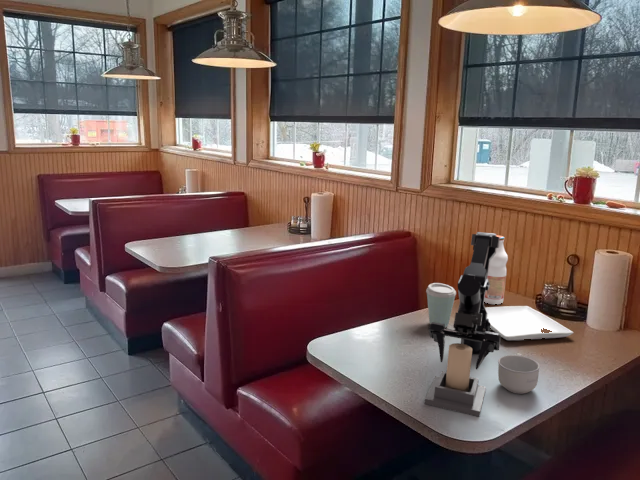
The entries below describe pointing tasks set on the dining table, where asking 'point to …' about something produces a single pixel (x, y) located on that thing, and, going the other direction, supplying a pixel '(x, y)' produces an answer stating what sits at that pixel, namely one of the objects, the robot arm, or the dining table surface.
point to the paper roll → (458, 367)
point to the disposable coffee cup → (440, 302)
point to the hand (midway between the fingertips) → (458, 365)
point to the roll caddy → (456, 396)
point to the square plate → (523, 323)
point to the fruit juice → (497, 275)
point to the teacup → (518, 373)
